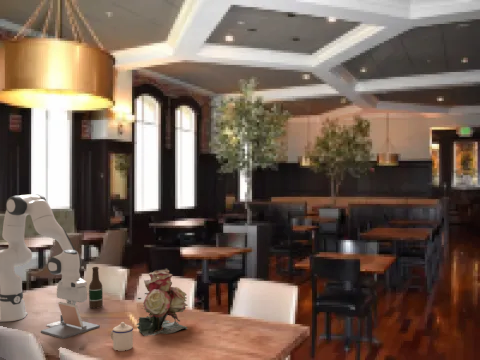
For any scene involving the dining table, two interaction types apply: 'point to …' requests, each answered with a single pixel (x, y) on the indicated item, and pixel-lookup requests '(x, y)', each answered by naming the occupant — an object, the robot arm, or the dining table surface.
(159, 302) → the rose bouquet
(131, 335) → the teacup with lid
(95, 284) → the beer bottle
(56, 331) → the board
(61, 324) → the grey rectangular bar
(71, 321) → the tile
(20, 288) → the robot arm
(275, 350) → the dining table surface
